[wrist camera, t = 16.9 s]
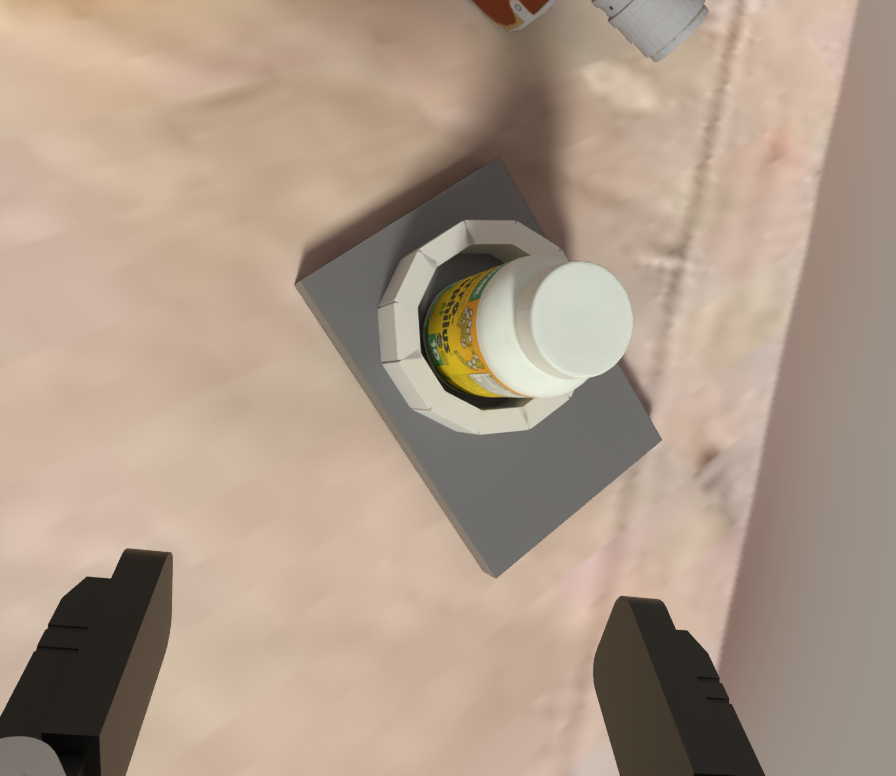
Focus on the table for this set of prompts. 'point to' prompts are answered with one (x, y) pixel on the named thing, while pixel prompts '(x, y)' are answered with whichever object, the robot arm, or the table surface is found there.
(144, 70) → the table surface
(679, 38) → the cine camera
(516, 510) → the mount plate
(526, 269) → the supplement bottle
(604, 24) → the table surface
